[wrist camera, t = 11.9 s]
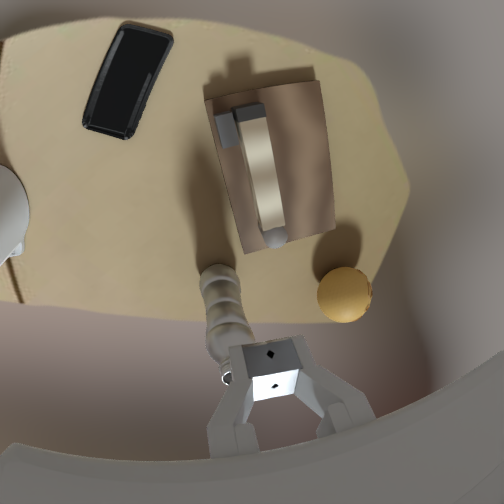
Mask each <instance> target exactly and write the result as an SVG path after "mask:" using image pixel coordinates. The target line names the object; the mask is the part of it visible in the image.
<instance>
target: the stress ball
mask: <svg viewBox="0 0 504 504" xmlns="http://www.w3.org/2000/svg"><path fill="white" fill-rule="evenodd" d="M371 297H372V287H371V284H370V282H369V281H368V280H367V277H366V275H365V274H363V273H362V272H361V271H360V270H358V269H357V270H356V269H354V268H351V267H339V268H336V269H333V270H331V271H330V272H328V273H327V274H326V275H325V276H324V277H323V279H322V280H321V282H320V284H319V287H318V291H317V300H318V304H319V307H320V309H321V310H322V312H323V313H324V314H325V315H326V316H327V317H328V318H330V319H331V320H334V321H337V322H351V321H356V320H358V319H360V318H361V317H362V315H363V314H364V313H365V312H366V311H367V310H368V308H369V305H370V302H371Z"/></svg>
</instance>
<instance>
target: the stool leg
mask: <svg viewBox="0 0 504 504" xmlns="http://www.w3.org/2000/svg"><path fill="white" fill-rule="evenodd" d="M231 110H232V114H233V118H234V120H235V123H236V127H237V132H238V136H239V140H240V145H241V149H242V154H243V158H244V162H245V167H246V171H247V176H248V180H249V185H250V189H251V194H252V198H253V203H254V207H255V212H256V216H257V219H258V221H259V223H258V228H259V231H260V233H261V235H262V237H263V239H264V241H265V244H266V245H267V246H268V247H270V248H279V247H281V246H283V245H284V244H285V243H286V241H287V238H288V234H287V232H286V230H285V229H284V227H283V226H285V220H284V214H283V208H282V202H281V196H280V190H279V185H278V179H277V174H276V168H275V163H274V157H273V152H272V147H271V141H270V136H269V131H268V126H267V121H266V117H267V116H266V111H265V106H264V103H260V102H253V103H248V104H243V105H239V106H234V107H231Z"/></svg>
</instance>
